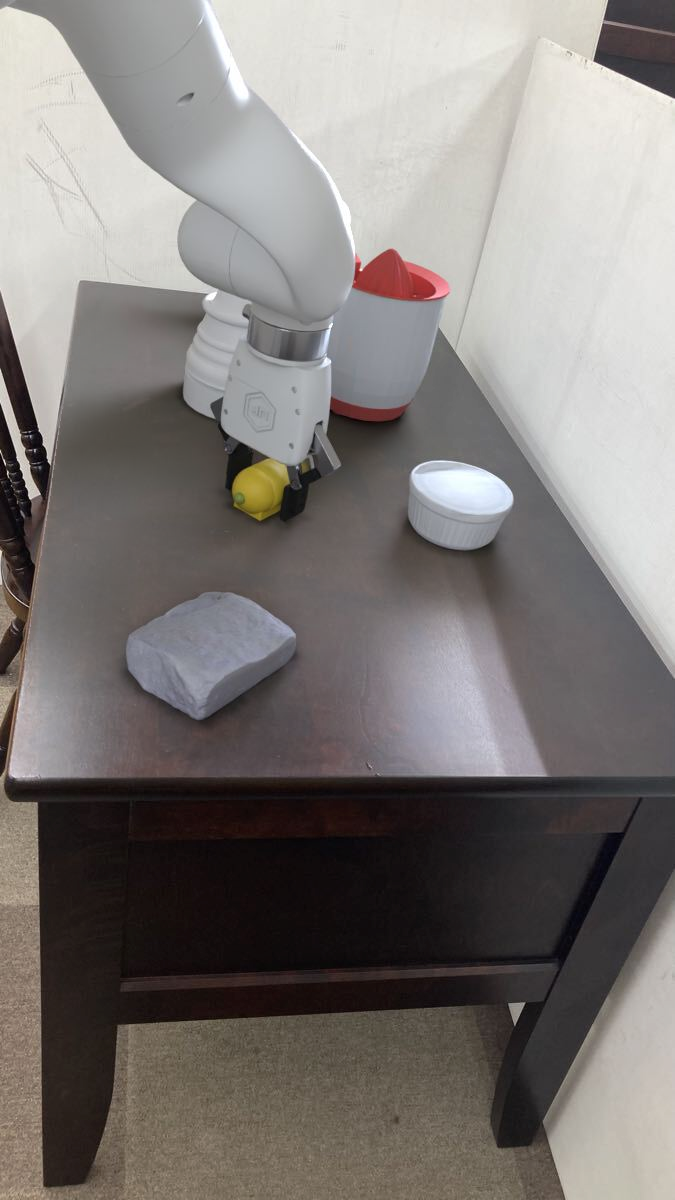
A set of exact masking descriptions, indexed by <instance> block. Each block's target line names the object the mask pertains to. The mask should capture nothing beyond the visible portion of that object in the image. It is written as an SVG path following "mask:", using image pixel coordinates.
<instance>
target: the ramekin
mask: <svg viewBox="0 0 675 1200" xmlns="http://www.w3.org/2000/svg"><path fill="white" fill-rule="evenodd" d="M408 487H409V493H408V503H407V504H408V505H407V517H408V520H409V522H410V524H411V526H412V528H413V529H414V531H415V532H416V533H417V534H418V535H419V536H420V537H422V538H423V539H424V540H426V541H428V542H430V543H432V544H434V545H437V546H439V547H442V548H446V549H451V550H454V551H473V550H478V549H481V548H483V547H484V546H486V545H488V544H490V543H491V542H493V540H494V539H495V537H496V535H497V534H498V532H499V530H500V528H501V526H502V524H503V522H504V520H505V518H506V517H507V516H508V515H509V514H510V512H511V511H512V508H513V505H514V502H515V501H514V499H515V498H514V494H513V492H512V490H511V488H510V487H509V485H507V484H506V483H505V482H504V481H503V480H502V479H501V478H500V477H497V475H494V474H493V473H491V472H489V471H488V470H485V469H483V468H480V467H478V466H475V465H471V464H467V463H465V462H464V463H463V462H459V461H453V460H429V461H426V462H422V463H419V464H418V465H416V466H415V467H413V469H412V471H411V473H410V475H409V479H408Z"/></svg>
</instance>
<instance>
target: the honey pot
mask: <svg viewBox="0 0 675 1200" xmlns="http://www.w3.org/2000/svg"><path fill="white" fill-rule="evenodd" d="M246 304H251V301H249V300H244V299H242V298H239V297H237V296H234V295H231V294H229V293H226V292H224V291H221V290H219V289H217V291H214V292H211V293H208V294H206V295H205V296H204V297H203V300H202V302H201V305H202V309H203V311H204V312H205V314H204V316H203V319H202V321H200V322H199V323H198V325H197V327H196V333H195V334H194V336H193V338H192V343H191V344H190V345H189V347H188V349H187V350H186V354H185V359H186V360H185V363H184V364H185V367H184V375H183V386H182V396H183V400H184V401H185V402H186V404H187V406H189V407H190V408H191V409H193V410H194V411H195V412H197V413H199V414H201V415H204V416H206V417H208V418H211V419H214V420H216V419H215V417H214V415H213V412H212V410H211V408H210V405H211V403H212V402H214V401H216V400H218V399H219V398H221V397H223V396H224V392H225V386H226V381H227V377H228V373H229V369H230V365H231V361H232V358H233V355H234V352H235V349H236V347H237V344H238V342H239V339H240V337H241V336H242V335H245V334H247V333H248V325H249V320H248V319H247V318H245V317H243V315H242V311H243V308H244V306H245V305H246Z"/></svg>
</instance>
